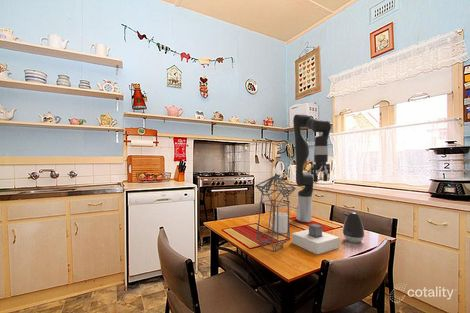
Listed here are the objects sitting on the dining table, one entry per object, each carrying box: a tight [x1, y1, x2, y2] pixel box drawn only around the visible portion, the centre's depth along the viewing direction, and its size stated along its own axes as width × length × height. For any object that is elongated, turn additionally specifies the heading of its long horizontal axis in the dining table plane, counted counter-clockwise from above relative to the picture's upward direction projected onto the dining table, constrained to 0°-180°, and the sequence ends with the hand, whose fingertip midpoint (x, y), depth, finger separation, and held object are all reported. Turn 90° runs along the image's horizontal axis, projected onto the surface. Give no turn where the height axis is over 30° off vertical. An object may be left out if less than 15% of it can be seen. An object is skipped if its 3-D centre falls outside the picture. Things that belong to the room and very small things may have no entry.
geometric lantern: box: [254, 175, 297, 252], centre depth 112 cm, size 16×16×35 cm
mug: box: [267, 211, 288, 235], centre depth 137 cm, size 12×8×10 cm
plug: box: [308, 223, 323, 238], centre depth 116 cm, size 4×4×10 cm
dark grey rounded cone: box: [342, 211, 365, 244], centre depth 123 cm, size 10×10×15 cm
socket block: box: [291, 229, 340, 255], centre depth 116 cm, size 16×16×5 cm
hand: (320, 181), depth 136 cm, fingers open, 8 cm apart
